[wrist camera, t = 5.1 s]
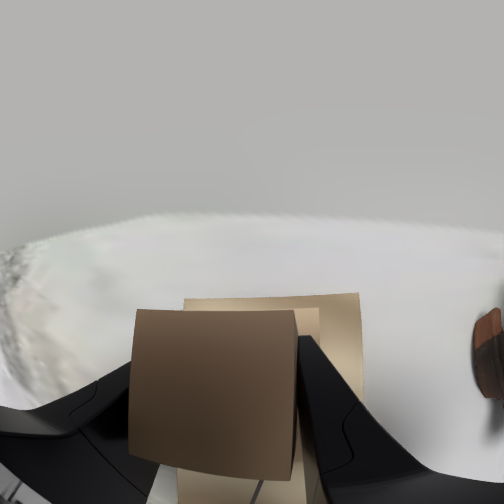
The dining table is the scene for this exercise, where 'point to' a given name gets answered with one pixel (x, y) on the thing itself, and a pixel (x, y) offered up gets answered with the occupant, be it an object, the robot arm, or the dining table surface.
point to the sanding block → (218, 390)
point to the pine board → (339, 353)
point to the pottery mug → (490, 354)
